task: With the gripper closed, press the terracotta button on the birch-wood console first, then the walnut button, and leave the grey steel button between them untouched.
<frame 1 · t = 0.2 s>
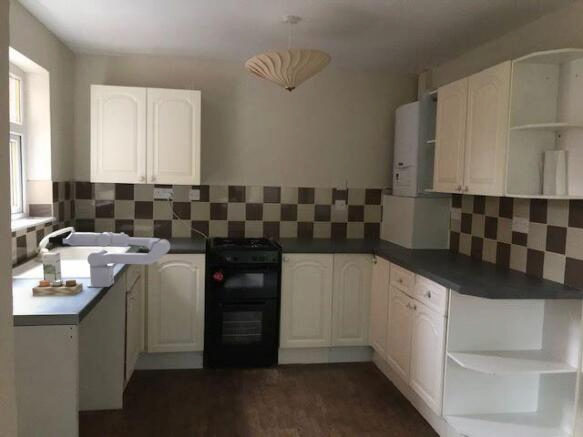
hand: (52, 238, 216), 21 cm above the worktop, tool horizontal, fingers open, 7 cm apart
terracotta button: (44, 283, 206), point 4 cm above the worktop, slide at 0.0 cm
walnut button: (70, 283, 207), point 4 cm above the worktop, slide at 0.0 cm
steel button: (57, 283, 207), point 4 cm above the worktop, slide at 0.0 cm
syrup box: (53, 284, 222), on the worktop
console: (58, 292, 207), on the worktop
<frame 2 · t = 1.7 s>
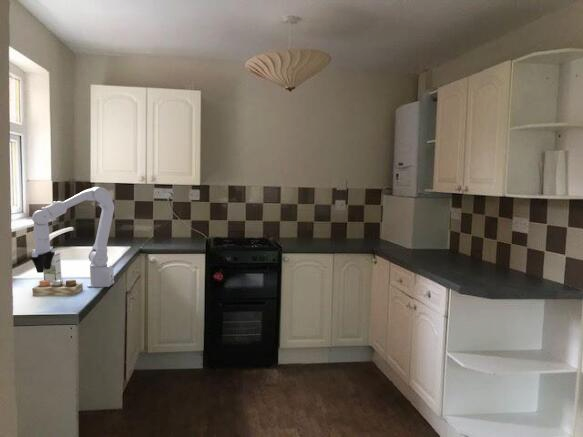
hand: (43, 270, 206), 9 cm above the worktop, tool pointing down, fingers open, 6 cm apart
nothing on the worktop moved.
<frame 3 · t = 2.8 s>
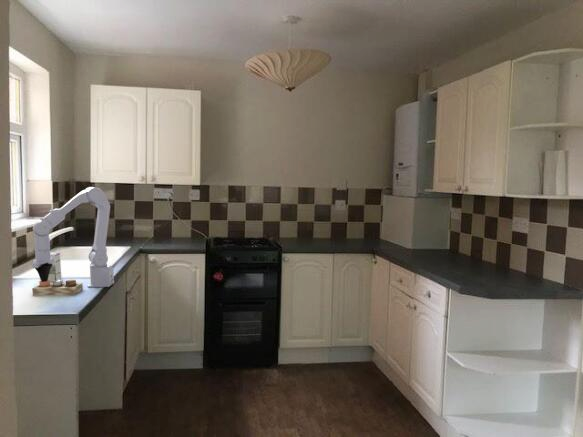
hand: (44, 281, 206), 5 cm above the worktop, tool pointing down, fingers closed, pressing on terracotta button
terracotta button: (44, 283, 206), point 4 cm above the worktop, slide at 0.1 cm, touching gripper
everything else where it was.
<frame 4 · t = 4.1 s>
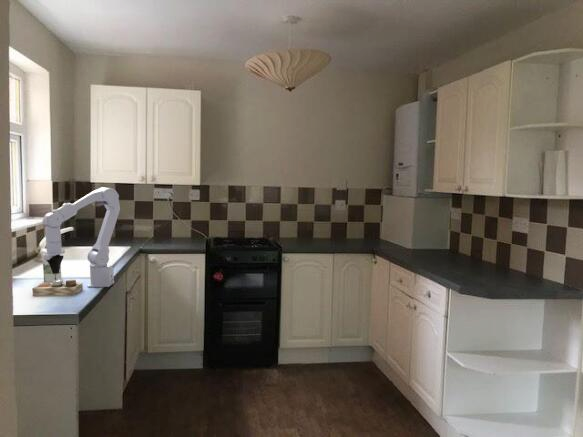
hand: (55, 273, 206), 8 cm above the worktop, tool pointing down, fingers closed
terracotta button: (44, 286, 207), point 2 cm above the worktop, slide at 1.3 cm
everything else where it was.
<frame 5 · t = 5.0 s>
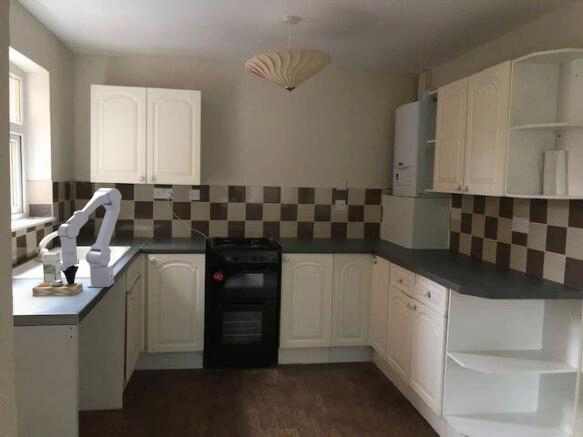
hand: (70, 283, 207), 4 cm above the worktop, tool pointing down, fingers closed, pressing on walnut button
walnut button: (71, 286, 207), point 3 cm above the worktop, slide at 1.3 cm, touching gripper
everything else where it was.
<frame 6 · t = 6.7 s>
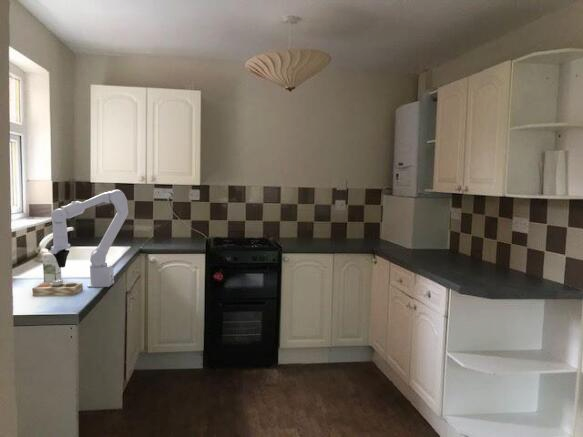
hand: (62, 267, 213), 9 cm above the worktop, tool pointing down, fingers closed
walnut button: (71, 286, 207), point 2 cm above the worktop, slide at 1.3 cm
everything else where it was.
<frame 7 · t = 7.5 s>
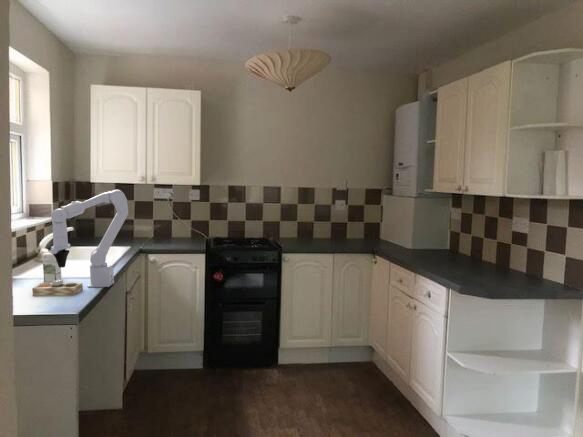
hand: (62, 267, 213), 9 cm above the worktop, tool pointing down, fingers closed
nothing on the worktop moved.
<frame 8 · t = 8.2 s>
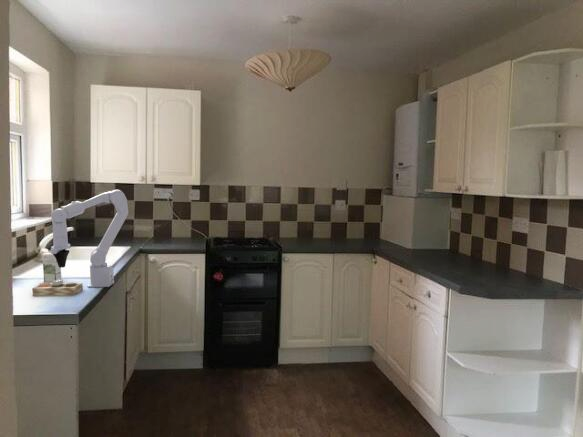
hand: (62, 267, 213), 9 cm above the worktop, tool pointing down, fingers closed
nothing on the worktop moved.
at the end: terracotta button slide at 1.3 cm; walnut button slide at 1.3 cm; steel button slide at 0.0 cm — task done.
